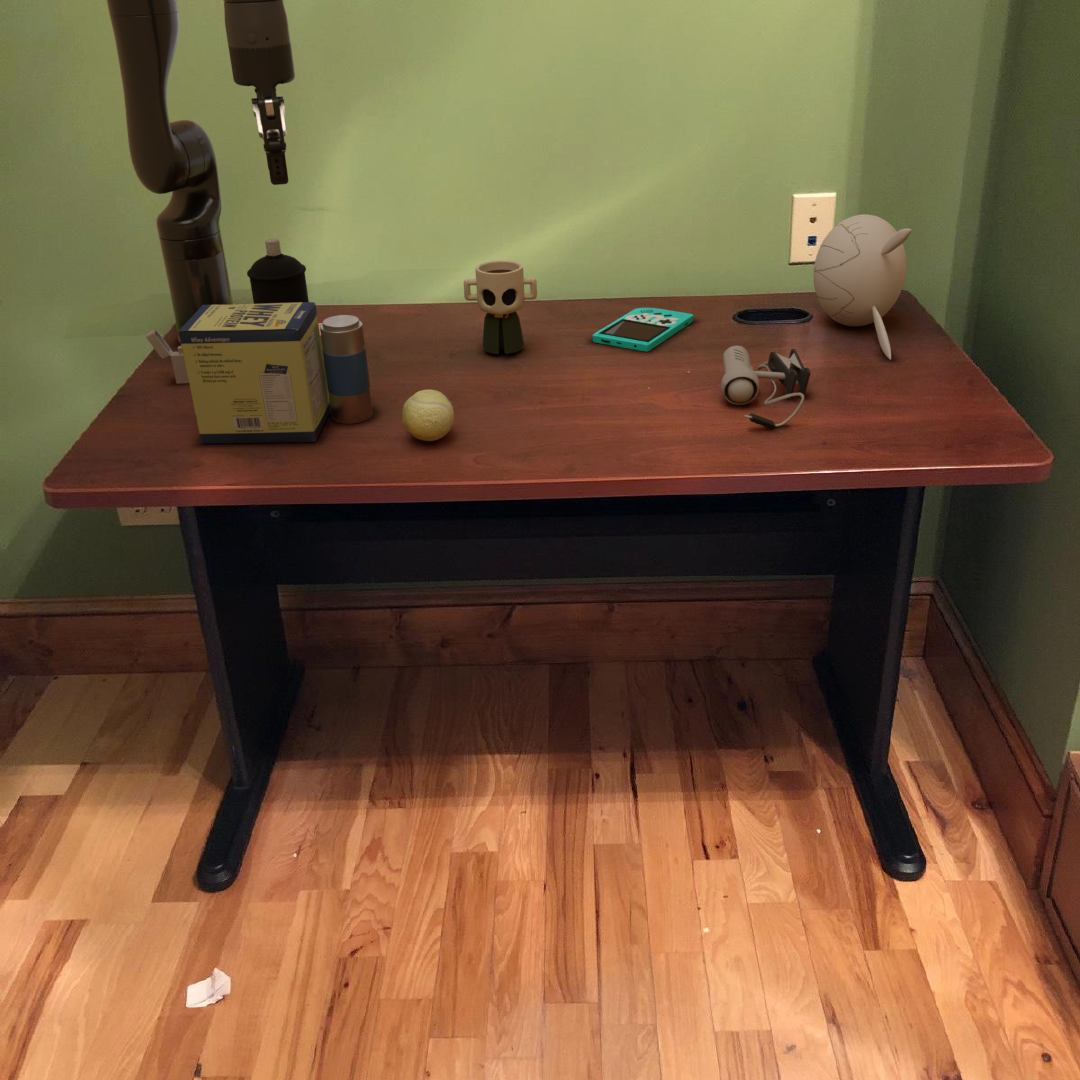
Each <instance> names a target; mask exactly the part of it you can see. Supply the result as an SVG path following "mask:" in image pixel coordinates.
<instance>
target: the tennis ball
mask: <svg viewBox="0 0 1080 1080" xmlns="http://www.w3.org/2000/svg"><path fill="white" fill-rule="evenodd" d="M401 412H402V413H401V414H402V422H401V423H402V424H403V425H404V428H405V429H406V431H407V432H408V433H410V434H411V435H412V437H413V438H415V439H417V440H420V441H423V442H434V441H439V440H440V439H442V438H443V437H445V436H446V435H447V434H448V433H449V432H450V430H451V429H452V427H453V424H454V421H455V420H454V419H455V411H454V406H453V404H452V403H451V401H450V399H449V398H448V397H447V396H446V395H445V394H443V392H442V391H439V390H436V389H421V390H418V391H417V392H415V393H413V394H412V395H411V396H410V397H409V398H407V400H406V401H405V403H404V404H403V408H402V411H401Z"/></svg>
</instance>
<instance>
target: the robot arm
mask: <svg viewBox="0 0 1080 1080" xmlns="http://www.w3.org/2000/svg"><path fill="white" fill-rule="evenodd" d="M106 2H107V9H108V14H109V19H110V23H111V27H112V32H113V36H114V41H115V47H116V52H117V59H118V66H119V70H120V78H121V83H122V91H123V98H124V109H125V120H126V131H127V141H128V142H127V143H128V150H129V155H130V159H131V163H132V167H133V170H134V172H135V175H136V177H137V179H138V180H139V182H140V183H141V184H142V186H143V187H145V189H146V190H148V191H149V192H151V193H153V194H155V195H156V194H157V195H164V194H169V193H171V196H170V200H169V202H168V203H167V205H166V207H165V208H164V209H163V210H162V211H161V212H160V213H159V214H158V215H157V218H156V230H157V234H158V239H159V244H160V250H161V255H162V258H163V263H164V268H165V274H166V279H167V285H168V290H169V294H170V295H169V296H170V299H171V305H172V309H173V315H174V320H175V325H176V331H177V335H178V336H177V339H178V343H179V346H181V341H180V336H179V332H178V331H179V330H180V329H181V328H182V327H183V326H184V325H185V324H186V323H187V321H188V320H189V319H190V318H191V317H192V316H193V315H194V314H195V313H196V312H197V311H198V310H199V308H200V307H201V306H202V305H234V300H233V299H234V298H233V295H232V293H233V292H232V288H231V283H230V277H229V270H228V265H227V258H226V253H225V248H224V243H223V235H222V232H221V231H222V230H221V225H220V218H221V214H222V196H221V189H220V180H219V171H218V163H217V158H216V153H215V150H214V146H213V143H212V141H211V139H210V137H209V135H208V134H207V132H206V131H205V128H203V127H202V126H201V125H199V123H197V122H195V121H193V120H189V119H180V120H176V121H171V122H170V117H169V109H168V96H167V89H168V81H169V76H170V73H171V72H170V71H171V68H172V65H173V61H174V58H175V54H176V49H177V45H178V42H179V36H180V27H181V22H180V12H179V7H178V0H106ZM223 10H224V26H225V32H226V33H225V34H226V40H227V46H228V52H229V59H230V60H229V61H230V66H231V74H232V79H233V82H234V83H235V84H236V85H238V86H242V87H253V88H254V93H255V94H256V97H251V99H250V100H251V107H252V112H253V116H254V117H255V119H256V126H257V131H258V137H259V138H260V139H262V141H263V151H264V152H265V155H266V156H265V157H266V162H267V163H266V165H267V169H268V172H269V173H268V174H269V180H270V183H271V185H273V186H278V185H287V184H288V183H289V175H288V174H289V173H288V167H287V159H286V150H287V143H286V141H285V137H286V136H287V133H288V132H287V124H286V118H285V115H286V104H285V99H284V96H283V95H280V96H279V95H278V96H277V86H278V85H285V84H289V83H291V82H293V81H294V80H295V78H296V73H295V66H294V65H295V64H294V58H293V57H294V56H293V50H292V42H291V34H290V26H289V19H288V15H287V11H286V7H285V3H284V0H223Z"/></svg>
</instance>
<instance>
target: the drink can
mask: <svg viewBox="0 0 1080 1080" xmlns="http://www.w3.org/2000/svg"><path fill="white" fill-rule="evenodd" d="M319 331H320V338H321V345H322V352H323V360H324V367H325V374H326V380H327V387H328V394H329V400H330V406H331V411H330V413H331V419H332V420H333V421H334V422H335V423H337V424H345V425H351V424H352V425H353V424H358V423H359V424H360V423H364V422H365V421H368V420H369V419H371V418H372V417H373V415H374V412H373V403H372V396H371V395H372V394H371V383H370V375H369V367H368V366H369V364H368V357H367V356H368V355H367V349H366V344H365V334H364V333H365V332H364V325H363V322H362V321H361V320H360V319H359V317H357V316H355V315H350V314H340V315H339V314H338V315H333V316H329V317H327V318H325V319H323V320H322V323H321V324H320V326H319Z"/></svg>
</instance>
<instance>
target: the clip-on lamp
mask: <svg viewBox="0 0 1080 1080" xmlns="http://www.w3.org/2000/svg"><path fill="white" fill-rule="evenodd" d="M722 364H723V373H724V375H723V376H722V379H721V382H720V391H721V394H722V396H723V398H724V399H725V400H726V401H727V402H728V403H731V404H732V405H737V406H740V405H741V406H742V405H746V404H749V403H751V402H752V401H754V399H756V397H757V396H758V394H759V391H760V385H761V384H760V379H768V380H770V382H771V385H772V386H773V388H774V390H773V392H772V394H771V395H770V396H769V397H768V398H767V399H766V400H764V402H763V405H764V406H769V405H771V404H774V403H776V402H780V401H783V400H785V399H787V400H790V401H791V400H792V399H793V397H800V398H801V399H800V402H799V404H798V405H797V407H796V408H795V410H794V411H793V412H792V413H791V414H790V415H789V416H788V417H787V418H786V419H784V421H782V422H780V423H775V422H774V420H772V419H769V418H766V417H763V416H761V415H758V414H755V413H752V412H750V414H748V415H747V414H744V418H748V419H749V421H750V422H752V423H754V424H756V425H760V426H762V427H764V428H768V429H771V430H773V429H775V427H776V428H777V427H781V426H784V425H785V424H786V423H788V422H789V421H791V419H792V418H793V417H795V415H796V414H797V412H798V411H800V409H801V407H802V405H803V404H804V401H805V397H806V392H807V389H808V384H809V381H810V376H811V370H810V368H809V367H805V366H804V364H803V362H802V360H801V358H800V355H799V354H798V351H797V349H796V348H791V349H790V351H789V355H788V357H786V356H784V355H782V354H778V353H777V352H776V351H771V352H769V356H768V360H767V361H765V362H763V363H761V364H760V365H758V366H757V367H756V368H757V370H754V368H753V365H752V363H751V359H750V354H749V352H748V350H747V349H746V348H745V347H744V346H741V345H732V346H730V347H728V348H727V349H725V351H724V352H723V355H722ZM762 369H765V370H762ZM774 380H778V382H779V383H780V384H781V385H782V386H783V388H784V389H785V395H781V396H779V397H776V398H774V396H775V395H776V393H777V384H776V382H775V381H774ZM796 384H797V385H798V387H799V390H798V392H795V388H796Z"/></svg>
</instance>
